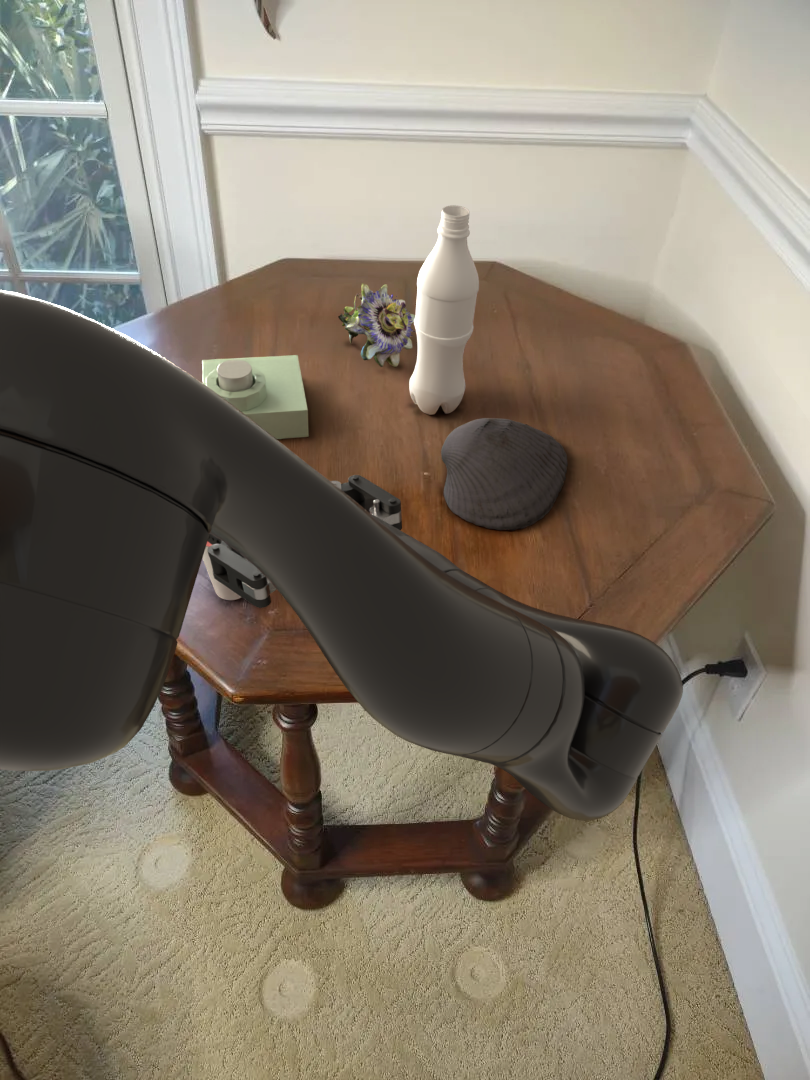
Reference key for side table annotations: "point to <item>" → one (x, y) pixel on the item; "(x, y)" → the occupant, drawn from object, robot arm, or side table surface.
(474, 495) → the seashell
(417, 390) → the water bottle
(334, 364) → the side table surface
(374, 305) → the passion flower
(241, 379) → the button
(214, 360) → the green button box
